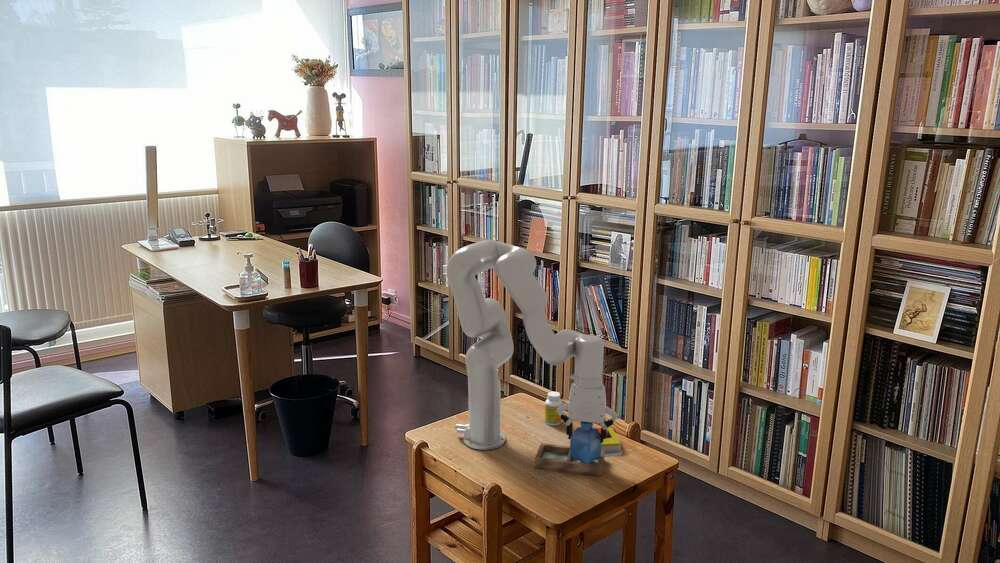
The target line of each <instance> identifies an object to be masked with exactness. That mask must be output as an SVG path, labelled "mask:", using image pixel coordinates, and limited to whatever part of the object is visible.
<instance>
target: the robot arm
mask: <svg viewBox="0 0 1000 563" xmlns="http://www.w3.org/2000/svg"><path fill="white" fill-rule="evenodd" d="M489 269H490V270H491V269H494V272H495V275H496V276H497V277H498V280H499V281H500V282H501V284H502V285H503V287H504V288H505V289H506V291H507V292H508V294H509V295H510V296H511V298H512V300H513V301H514V302H515V304H516V306H517V307H518V308H519V309H520V310H519V311H521V315H522V322H523V326H524V329H525V333H526V336H527V338H528V340H529V341H530V343H531V345H532V346H533V348H534V349H535V351H536V352H537V353H538V355H539V356H540V357H541V358H542V360H543V361H544V362H545V363H546V364H549V365H551V366H560V365H562V364H564V363H565V362H566V361H568V360H569V359H570V358H573V357H574V359H575V360H574V362H575V363H574V373H572V374H569V375H568V376H569V377H568V378H569V380H572V383H571V386H570V389H569V396H568V402H567V403H564V404H562V406H560V407H558V408H557V412H558V414H559V416H560V418H561V419H562V421H563V423H564V424H565V426H566V429H565V430H566V431H565V432H566V433H565V434H566V436H568V438H567V439H568V440H571V436H572V434H573V427H574V426H573V425H574V423H573V422H589V423H593V424H600V427H601V438H600V442H601V443H603V440H604V439H606V433H607V428H608V427H611V426H612V425H614V423H615V421H616V420H617V419H618V418H619V414H618V413H617V412H616V411H615V410H613V409H611V407H609V406H608V405H607V394H606V386H605V385H604V383H603V379H604V378H603V374H604V370H603V369H604V354H605V342H604V340H603V338H602V337H600V336H599V335H593V334H585V333H581V332H580V331H576V330H573V329H568V328H566V329H561V330H559V331H558V332H557V333H555V332H554V331H553V329H552V328H551V326H550V323H549V322H548V318H547V314H546V308H547V300H548V295H547V292H546V290H545V289H544V288H543V286H542V285H541V284H540V282H539V281H538V279H537V278H536V276H535V275H534V272H535V271H536V269H537V261H536V257H535V255H534V254H533V253H532V252H531V251H529V250H528V249H526V248H524V247H520V246H516V245H514V244H509V243H505V242H503V241H498V240H493V239H484V240H481V241H476V242H475V243H471V244H468V245H465V246H463V247H461V248H459V249H458V250H456V251H455V252H454V253H453V254H452V255H451V256H450V258H449V259H448V261H447V264H446V270H445V271H446V278H447V280H448V284H449V286H450V289H451V293H452V296H453V299H454V303H455V307H456V311H457V315H458V320H459V322H460V327H461V329H462V331H463V333H464V334H465V335H466V336H467V337H469V338H473V339H474V338H478V337H483V338H482V339H480V340H477V341H476V342H475V343H473V344H472V345H470V347H469V348H468V349H467V351H466V354H465V359H464V360H465V368H466V374H467V384H468V385H467V386H468V389H467V390H468V423H466V424H462V423H455V427H454V429H455V430H456V433H457V434H463V438H462V439H463V444H465V446H467V447H469V448H471V449H474V450H480V451H486V450H488V451H490V450H494V449H497V448H500V447H501V446H503V445H504V444H505V442H506V435H505V434H504V432H502V431H501V400H502V399H501V397H502V396H501V393H502V392H501V380H500V377H499V374H498V373H499V372H498V368H500V367H501V366H502V365H504V364H505V363H506V362H508V361H509V360H510V359H511V358H512V356H513V354H514V347H515V346H514V341H513V337H512V333H511V329H510V325H509V322H508V318H507V314H506V311H505V309H504V307H503V305H502V304H501V302H499V301H498V300H496V299H494V298H491V297H486V298H485V296H484V293H483V288H482V286H481V284H480V282H479V281H478V280H477V278H476V276H477V275H478V274H481V273H482V272H485V271H488V270H489ZM565 411H567V415H566V413H565ZM607 414H608V415H609V416H610V418H609V419H608V420H607V419H606V415H607Z"/></svg>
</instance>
